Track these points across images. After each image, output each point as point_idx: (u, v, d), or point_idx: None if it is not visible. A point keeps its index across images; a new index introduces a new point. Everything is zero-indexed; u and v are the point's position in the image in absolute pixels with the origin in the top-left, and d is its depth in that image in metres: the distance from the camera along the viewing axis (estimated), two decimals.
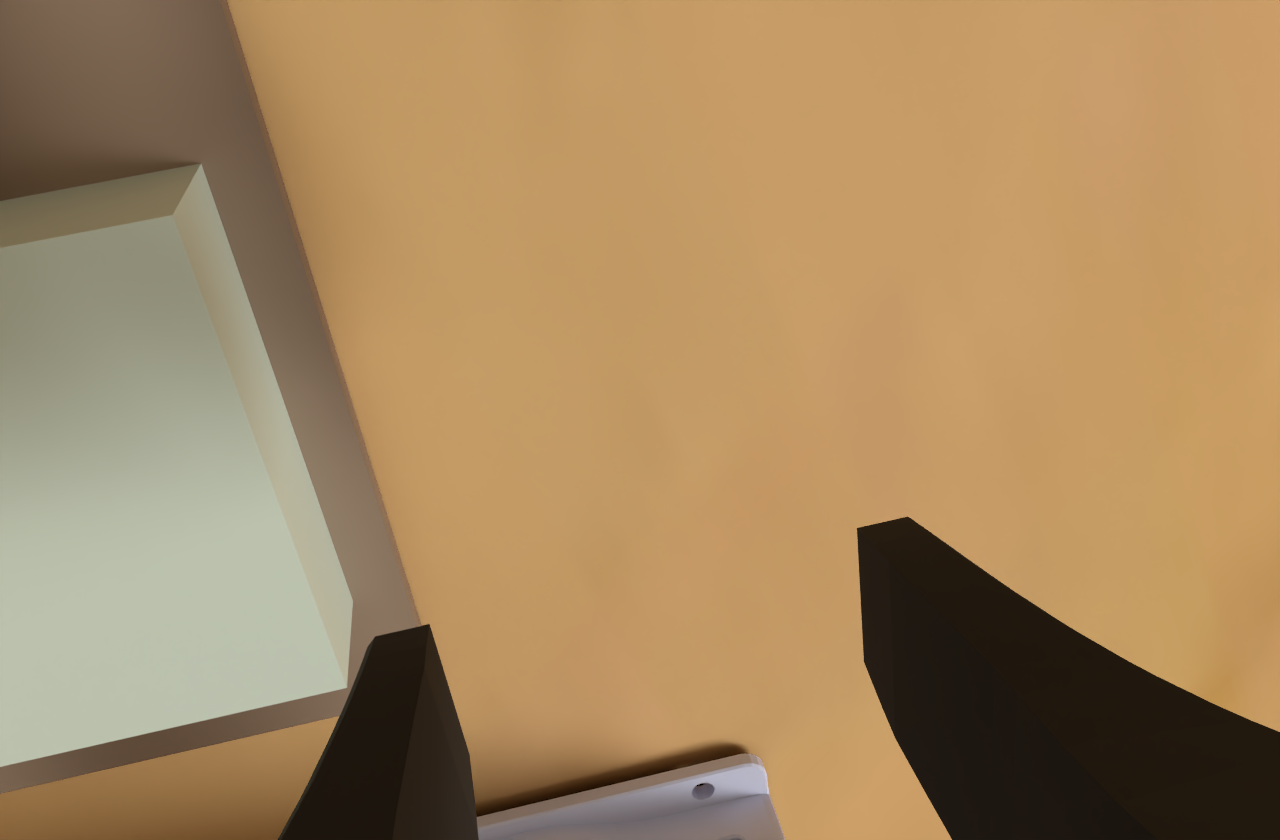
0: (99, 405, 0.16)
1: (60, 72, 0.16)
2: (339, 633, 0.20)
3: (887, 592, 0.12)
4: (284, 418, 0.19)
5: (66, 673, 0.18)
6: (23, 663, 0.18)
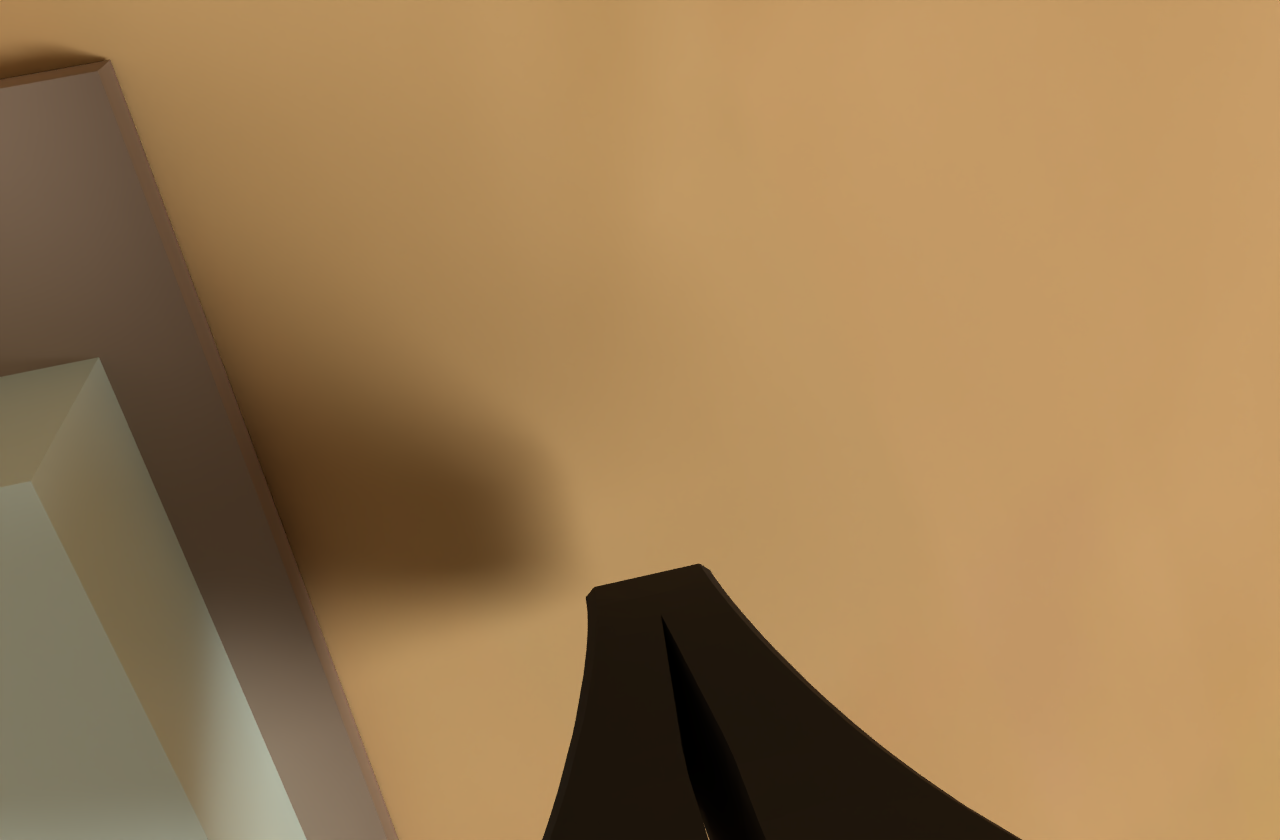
0: None
1: None
2: None
3: None
4: (231, 692, 0.13)
5: None
6: None
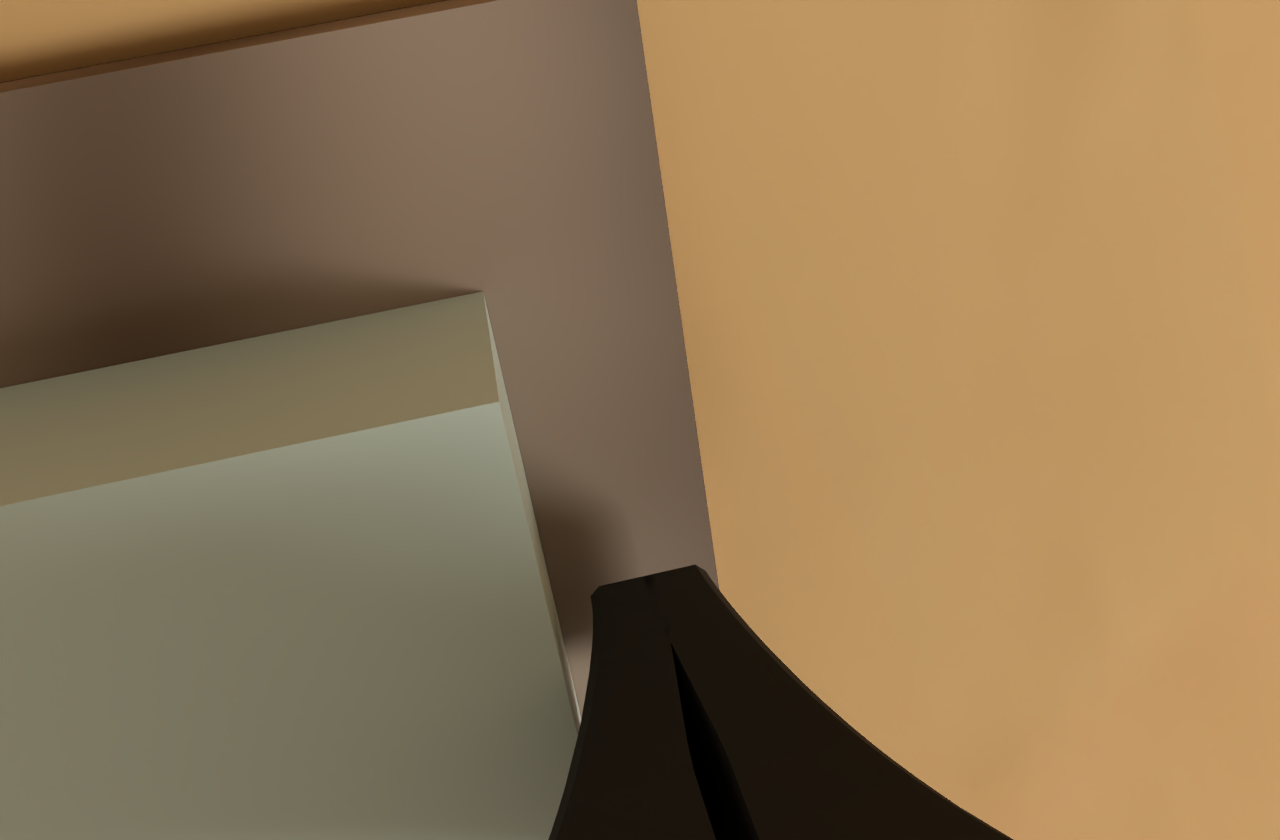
0: (351, 675, 0.10)
1: (393, 142, 0.11)
2: None
3: None
4: (561, 636, 0.13)
5: None
6: None
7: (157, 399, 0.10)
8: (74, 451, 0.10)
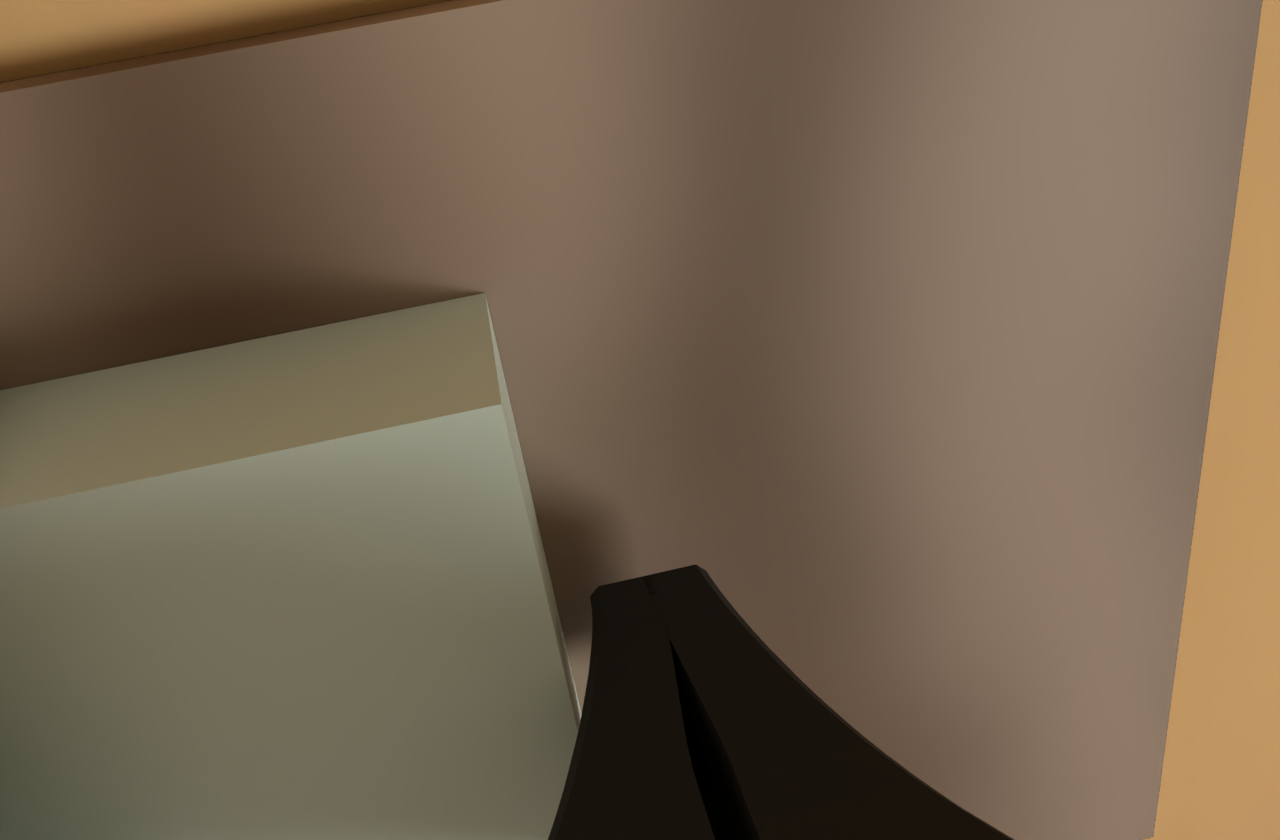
0: (353, 676, 0.11)
1: (1032, 19, 0.11)
2: None
3: None
4: (563, 637, 0.13)
5: None
6: None
7: (159, 401, 0.10)
8: (76, 453, 0.10)
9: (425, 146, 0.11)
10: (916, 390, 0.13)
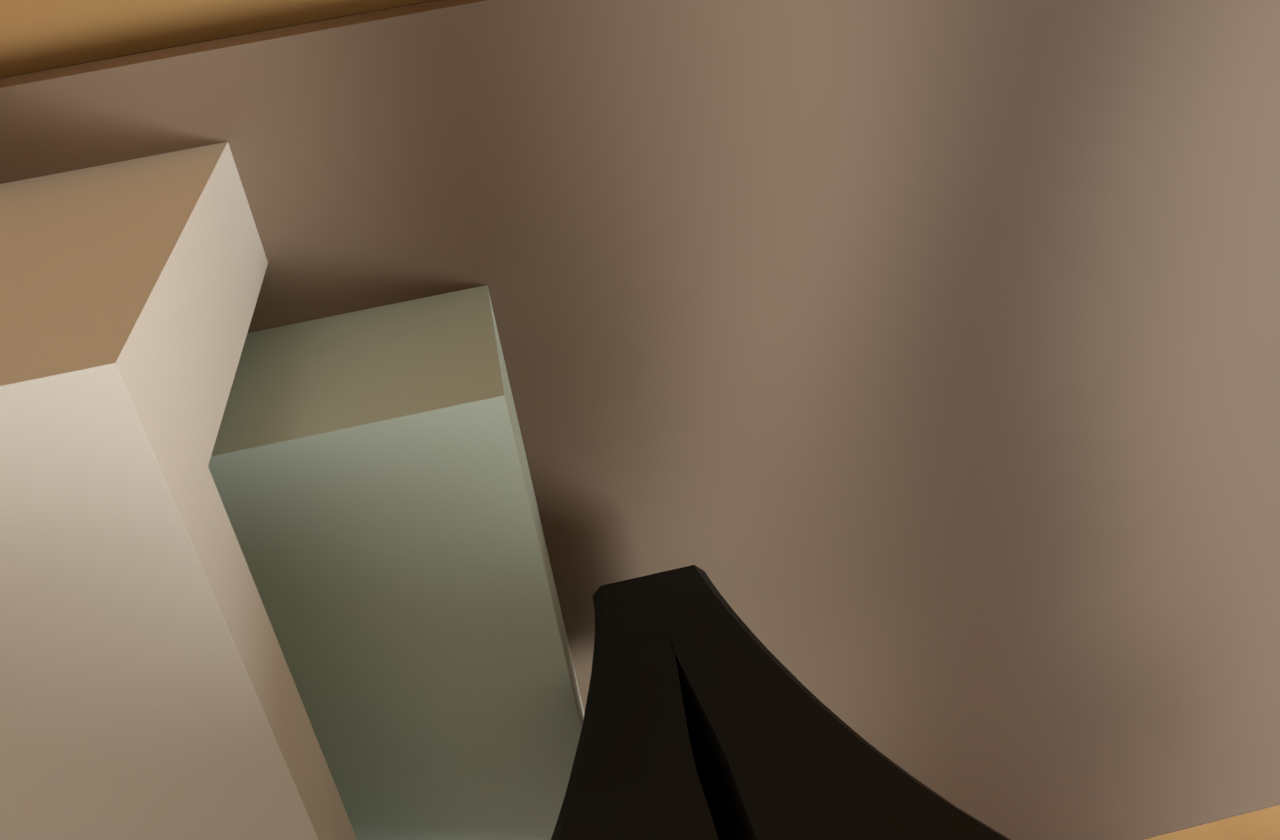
0: (355, 669, 0.10)
1: None
2: None
3: None
4: (565, 631, 0.13)
5: None
6: None
7: None
8: None
9: (710, 89, 0.11)
10: (1143, 340, 0.13)
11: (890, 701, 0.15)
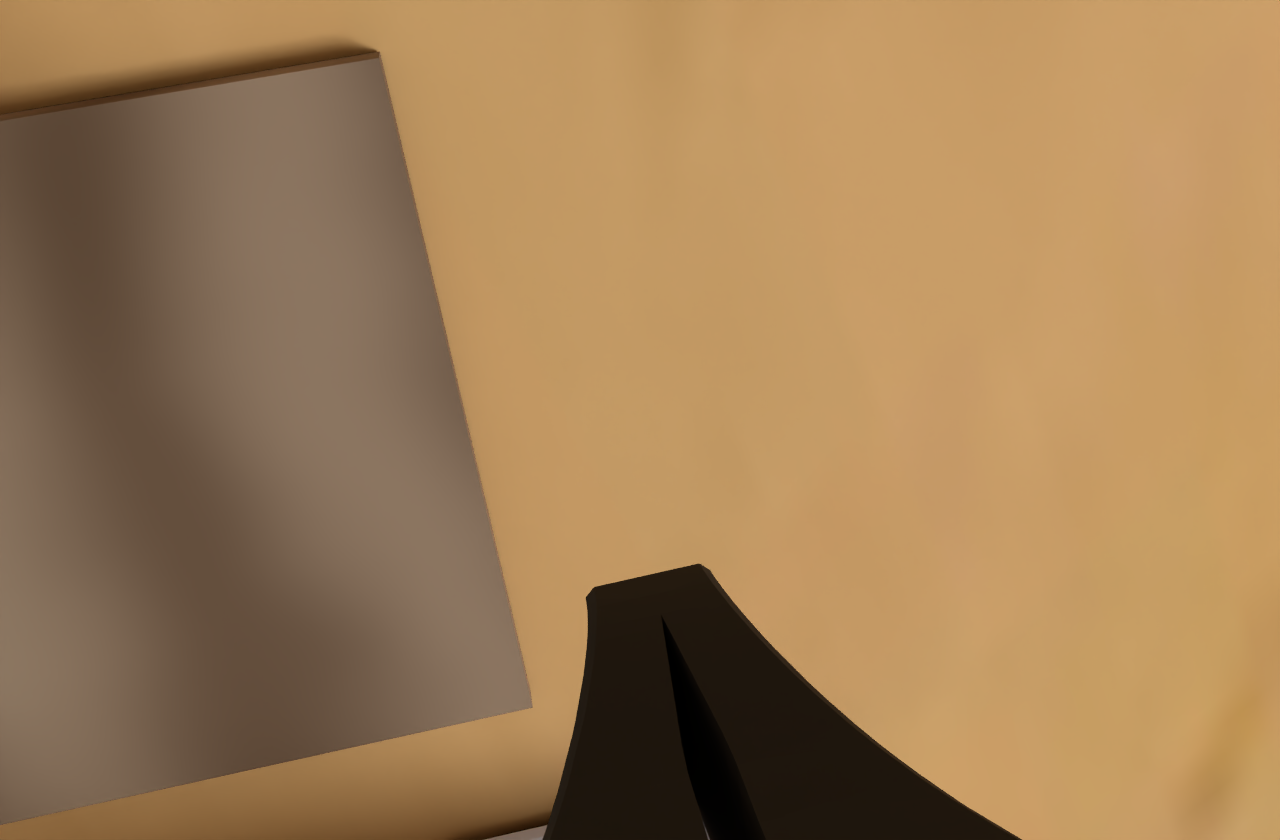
0: None
1: (241, 151, 0.18)
2: None
3: None
4: None
5: None
6: None
7: None
8: None
9: None
10: (235, 380, 0.20)
11: (142, 625, 0.22)
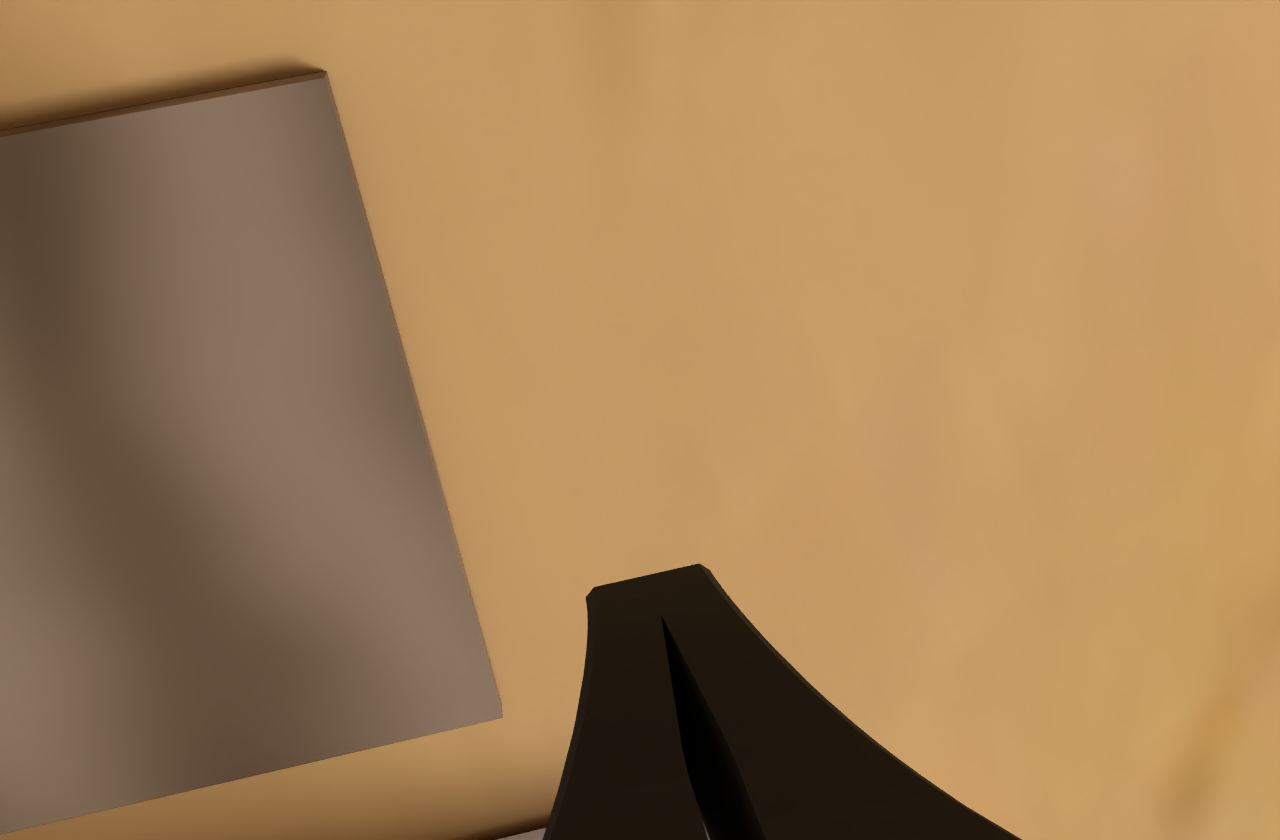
0: None
1: (189, 172, 0.18)
2: None
3: None
4: None
5: None
6: None
7: None
8: None
9: None
10: (192, 398, 0.20)
11: (109, 642, 0.22)
